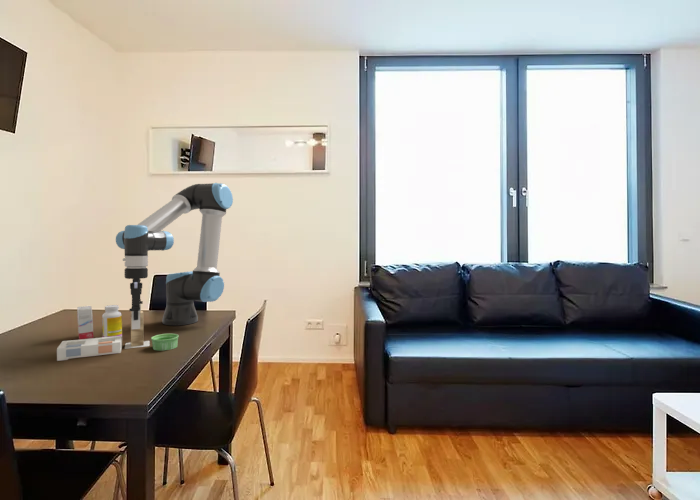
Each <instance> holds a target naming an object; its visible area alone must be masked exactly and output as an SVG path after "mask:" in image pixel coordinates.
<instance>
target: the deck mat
mask: <svg viewBox="0 0 700 500" xmlns="http://www.w3.org/2000/svg"><path fill="white" fill-rule="evenodd" d="M150 343H151V341H150V340H144V345H141V346H131V342H126V343H125V344H124V345H125V346H124V349H126V350H127V349H133V348H144V347H145V348H146V347H150V346H151V344H150Z"/></svg>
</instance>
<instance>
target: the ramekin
mask: <svg viewBox="0 0 700 500" xmlns="http://www.w3.org/2000/svg"><path fill="white" fill-rule="evenodd" d="M150 339H151V343H152V350H154V351H161V352H163V351H169V350H174V349H176V348H178V343H179V342H178V341H179V334H177V333H162V334H156V335H154V336H153V335H152V336H151V337H150Z"/></svg>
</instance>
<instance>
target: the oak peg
mask: <svg viewBox="0 0 700 500" xmlns="http://www.w3.org/2000/svg"><path fill="white" fill-rule="evenodd" d="M144 335H145V334H144V310H141V311H140V329H132V311H130V343H131V346H141V345H144V341H145V340H144Z"/></svg>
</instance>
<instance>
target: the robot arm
mask: <svg viewBox="0 0 700 500" xmlns="http://www.w3.org/2000/svg"><path fill="white" fill-rule="evenodd" d="M233 201H234V199H233V193H232V191H231V189H230V187H229V186H228V185H226V183H225V184H224V183H221V182H220V183H218V182H215V183H196V184H192V185H190V186H187V187H186V188H184V189H181V190H180V191H179V192H177V193H176V194H175V195H173V196H172V197H171V200H170V201H169V202H168V203H165V204H164V205H163V206H162V207H160V208H159V209H157V210H156V211H154V212H153V213H152V214H151V215H149V216H148V217H146V218H145V219H143V220H142V221H141V222H139V223H138V224H128V225H125V228H124V230H121V231H119V232H118V233H117V234H116V236H115V243H116V245H117V247H118V248H120V249H122V250H124V258H122V261H123V262H124V267H125V268H124V278H125V279H127V280H130V279H131V280H132V282H130V283H129V289H130V295H131V308H129V309H128V311H129V312H132V329H140V311H142V304H143V301H142V299H141V295H142V289H143V282H141V279H147V278H148V275H149V274H148V273H149V272H148V270H149V269H148V265H149V264H148V263H149V256H148V255H149V253H148V252H149V251H168V250H170V249H171V248H173V246H174V244H175V243H174V242H175V239H174V236H173V234H172V233H171V232H169V231H165V230H164V229H165V228H166V227H168V226H169V225H170V224H172V223H174V221H175V220H176V219H179V218H180V217H181V216H182V215H184V214H188V213H190V212H192V211H193V210H198V211H199V212H200V213H201V215H202V216H201V226H200V234H199V235H200V236H199V245H198V253H197V261H196V267H195V268H194V269H192V271H184V272H175V273H169V274H167V275H166V278H165V279H166V281H165V296H166V298H165V299H166V307H165V309H164V313H163V317H162V324H163V325H166V326H184V325H191V324H195V323H198V321H199V319H198V318H199V316H198V314H197V313H198V312H197V310H196V307H195V303H194V302H203V303H207V302H210V303H211V302H212V303H213V302H216V301H217V300H219V299H220V298H221V296H222V294H223V293H224V289H225V282H224V279H223V278H222V277H221V276H220V274H221V272H220V271H219V269H218V259H219V250H220V240H221V231H222V222H223V221H222V220H223V217H224V216H226V214H227V210H229V209H230V208H231V207H232V205H233V203H234V202H233Z"/></svg>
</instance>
